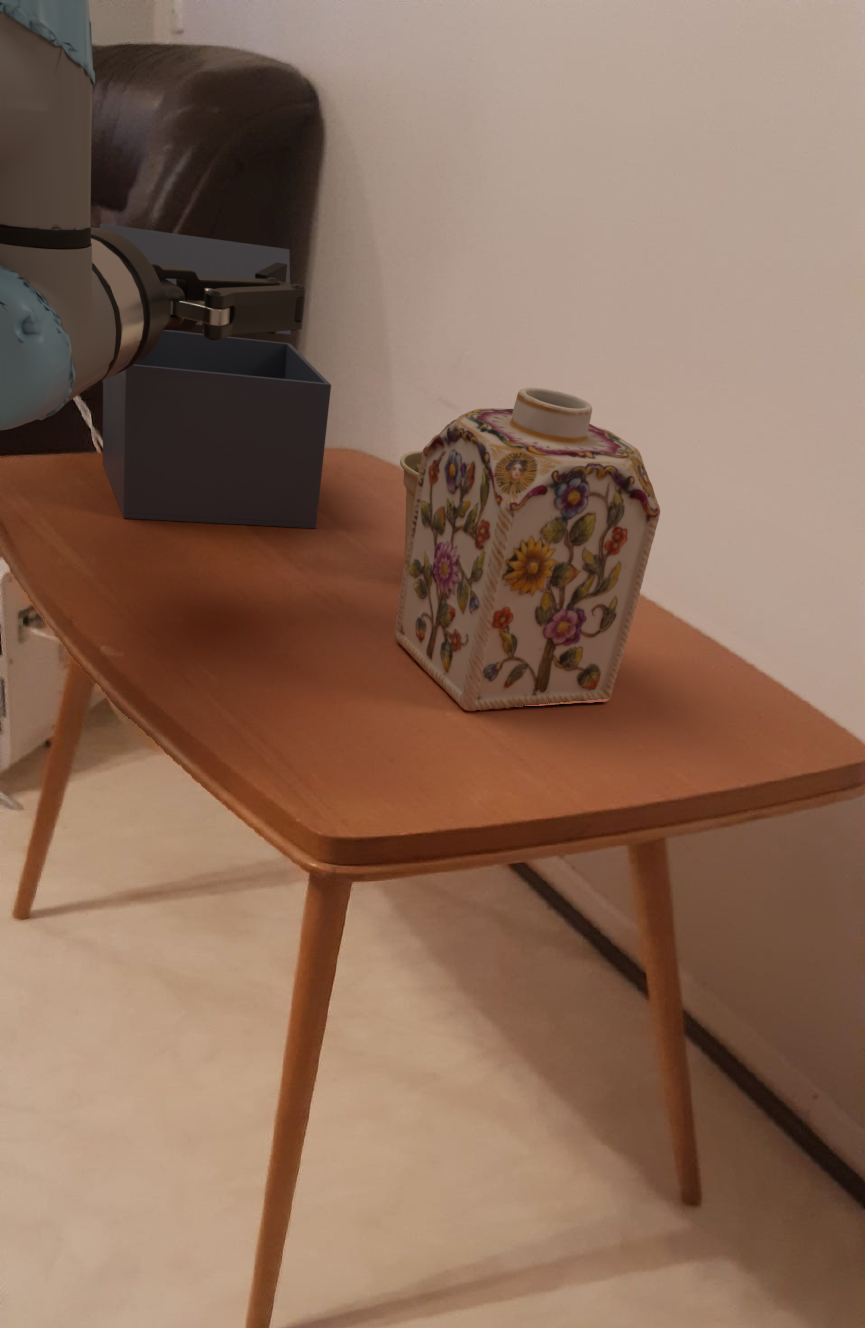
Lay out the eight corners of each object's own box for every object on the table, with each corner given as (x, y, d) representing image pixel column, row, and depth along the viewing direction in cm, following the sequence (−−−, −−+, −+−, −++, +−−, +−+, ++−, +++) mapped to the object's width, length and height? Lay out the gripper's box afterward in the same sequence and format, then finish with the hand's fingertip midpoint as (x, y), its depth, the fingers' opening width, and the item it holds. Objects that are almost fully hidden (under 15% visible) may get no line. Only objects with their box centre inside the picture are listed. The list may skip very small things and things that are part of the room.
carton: (123, 518, 97) (125, 364, 90) (102, 464, 107) (103, 322, 100) (315, 528, 102) (331, 384, 96) (278, 476, 112) (290, 343, 106)
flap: (100, 223, 98) (99, 224, 99) (104, 314, 100) (103, 315, 100) (289, 249, 104) (288, 250, 104) (290, 334, 105) (289, 335, 106)
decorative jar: (388, 638, 85) (429, 364, 75) (530, 634, 91) (587, 376, 80) (464, 717, 77) (521, 421, 67) (615, 707, 82) (690, 431, 72)
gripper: (-125, 336, 72) (17, 289, 89) (290, 420, 72) (351, 356, 89) (-139, 189, 67) (13, 170, 85) (303, 278, 67) (365, 240, 85)
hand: (187, 265), depth 87 cm, fingers open, 13 cm apart
